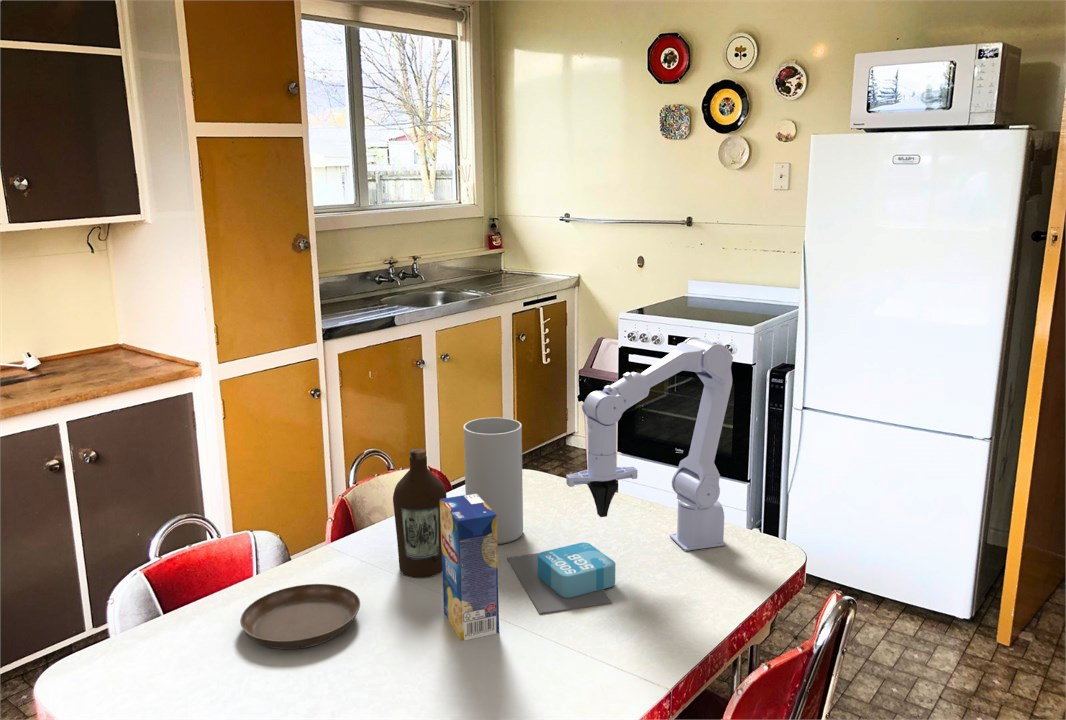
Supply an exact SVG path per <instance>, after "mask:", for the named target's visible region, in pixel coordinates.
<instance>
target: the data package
mask: <svg viewBox="0 0 1066 720" xmlns="http://www.w3.org/2000/svg"><path fill="white" fill-rule="evenodd" d="M538 553H539V554H538V577H539V578H541V579H542V580H543V581H544V582H545V583H546V584H547V585H549V586H550V587H551V588H552V589H553V590H554V591H556V592H557V593H558V594H559V595H560V596H562V597H564V598H572V597H576V596H579V595H583V594H587V593H591V592H594V591H598V590H602V589H603V590H604V589H608V588H609V589H610V588H611V587H614V586H615V585H616V562H615V560H613V559H611V558H610V557H609V556H608V555H606V554H605V553H604V552H602V551H600V550H599V549H597V548H596V547H595V546H593V545H592V544H591V543H589V542H579V543H575V544H569V545H565V546H562V547H556V548H553V549H550V550H549V549H548V550H543V551H541V552H538Z"/></svg>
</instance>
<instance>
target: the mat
mask: <svg viewBox="0 0 1066 720" xmlns="http://www.w3.org/2000/svg"><path fill="white" fill-rule="evenodd" d="M539 553H540V552H538V553H531V554H530V553H528V554H522V555H516V556H508V557H506V558H507V561H508V563H509V564H510V567H511V568H512V569H513V571H514V572H515V574H516V576H517V578H518V580H519V582H520V584H521V585H522V587H523V588H524V590H525V592H526V594H527V595H528V597H529V599H530V601H531V602H532V605H533V606H534V607H535V609H536V611H537V612H538V614H539V615H545V614H552V613H559V612H565V611H570V610H572V611H573V610H576V609H577V610H578V609H579V610H580V609H583V608H590V607H597V606H604V605H609V604H610V605H611V604H613V600H611V599H610V597H609V596H608V594H607V593H606V592H605V591H604V589H602V590H598V591H594V592H591V593H587V594H583V595H579V596H576V597H572V598H564V597H562V596H560V595H559V594H558V593H557V592H556V591H554V590H553V589H552V588H551V587H550V586H549V585H547V584H546V583H545V582H544V581H543V580H542V579H541V578H539V577H538V554H539Z"/></svg>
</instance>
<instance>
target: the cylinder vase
mask: <svg viewBox="0 0 1066 720" xmlns="http://www.w3.org/2000/svg"><path fill="white" fill-rule="evenodd" d="M522 425H523V424H522V423H521V422H520V421H518V420H516V419H512V418H507V417H483V418H477V419H472V420H469V421H467V422H465V424H463V449H464V450H463V452H464V453H463V455H464V457H463V458H464V484H465V486H464V487H465V488H464V489H465V490H464V491H465V495H468V494H475V493H476V494H477V495H478V496H479V497H480V498H481V499H482V500H483V501H484V502H485V503H486V504H487V505H488V506H489V507H490V508H491V509H492V510H493V511H494V513H495V514H496V515H497V545H501V544H502V545H503V544H506V543H511V542H513V541H516V540H517V539H519V538H520V537H522V534H523V532H524V507H523V506H524V503H523V499H524V497H523V495H524V494H523V493H524V492H523V491H524V490H523V440H522V439H523V437H522V436H523V434H522V431H523V428H522V427H523V426H522Z"/></svg>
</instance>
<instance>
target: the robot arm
mask: <svg viewBox="0 0 1066 720" xmlns="http://www.w3.org/2000/svg"><path fill="white" fill-rule="evenodd" d="M733 360H734V356H733V355H732V354H731V352H730V351H729V350H728V348H727V347H726V346H725V345H723V344H720V343H714V342H710V341H709V340H708V341H707V340H703V339H701V338H699V337H695V336H691V337H688V338H686V339H685V340H684V341H683V342H680V343H677V345H676V346H675V348H674V350H672V351H671V352H669V353H668V354H666V355H665V356H664V357H662V358H661V359H659V360H658V361H656V362H655V363H654V364H652V365H651V366H650V367H648V368H647V369H645V370H644V371H642V372H641V373H640V372H635V371H631V372H629V371H627V372H625V373H623V374H622V376H623V377H622V378H620V379H619V380H616V381H615V382H614V383H612V384H610V385H608V384H607V385H605V386H603V389H602V390H594V391H592V392H590V393H589V394H588V395H586V398H585V399H584V402H583V404H581V409H582V412H583V414H584V416H585V417H586V420H587V469H584V470H581V471H578V472H574V473H570V474H569V473H568V474H566V476H565V477H566V479H565V480H566V485H567V486H568V487H570V488H571V487H572V488H573V487H575V486H579V485H587V487H588V488H589V490H590V493H591V495H592V497H593V502H594V503H595V504H594V505H595V507H596V509H595V510H596V512H597V515H598V516H599V518H606V517H608V513H609V509H610V505H611V503H612V500H613V498H614V496H615V495H616V492H617V491H618V489H619V483H618V482H617V480H626V479H627V480H628V479H632V480H636V479H638V469H637V468H636V467H635V466H617V435H618V434H617V423H618V422H619V421H620V419H621V418H622V416H623V414H624V412H626V411H627V410H628V409H629V408H631V407H633V406H634V405H636V404H637V403H639V402H640V401H642V400H644V399H645V398H647V397H648V396H649V393H650V391H651V390H650V389H651V388H652V387H654V386H657V385H658V384H659V383H660V384H661V382H663V381H665V380H668V379H669V378H671V377H673V376H675V375H677V374H678V373H680V372H682V371H685V372H694V373H695V374H696V375H697V377H698V378H699V379H700V381H701V382H702V383H703V389H702V393H701V394H702V395H701V399H700V403H699V408H698V410H697V411H698V412H697V415H696V416H697V417H696V421H695V425H694V429H693V434H692V439H691V443H690V448H689V451H688V455H687V456H686V457H685V458H683V459H681V460H680V461H679V464H678V467H677V470H676V471H675V473H674V474H673V476H672V479H671V488H672V490H673V491H674V493H675V494H676V499H677V520H676V521H677V527H676V530H677V531H676V533H670V534H669V537H670V538H671V539H672V540H673V541H674V542H675V543H676V544H677V545H678V546H679V547H680V548H681V549H683V551H694V550H701V549H708V548H717V547H722V546H725V545H726V543H725V541H724V538H725V537H724V534H725V512H724V508H723V505H722V504H721V502H720V501H719V500H718V499H719V498H720V494H721V488H720V478H721V474H720V473H719V470H718V468H717V466H716V464H715V460H716V455H717V452H718V451H717V450H718V447H719V442H720V438H721V433H722V429H723V425H724V420H725V416H726V412H727V407H728V403H729V398H730V395H731V390H732V387H733V374H732V364H733Z"/></svg>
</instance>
